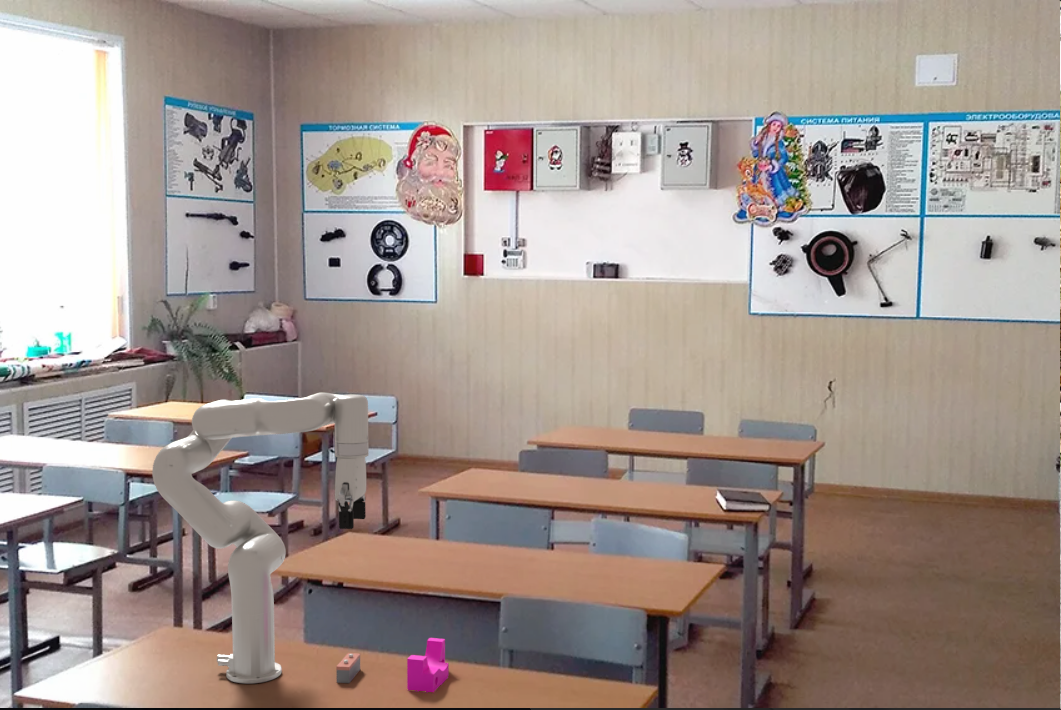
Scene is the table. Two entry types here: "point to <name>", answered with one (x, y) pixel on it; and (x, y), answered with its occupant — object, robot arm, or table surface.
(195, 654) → the table surface
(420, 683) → the magenta curved block
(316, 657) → the table surface
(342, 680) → the block
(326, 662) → the table surface
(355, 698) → the table surface
